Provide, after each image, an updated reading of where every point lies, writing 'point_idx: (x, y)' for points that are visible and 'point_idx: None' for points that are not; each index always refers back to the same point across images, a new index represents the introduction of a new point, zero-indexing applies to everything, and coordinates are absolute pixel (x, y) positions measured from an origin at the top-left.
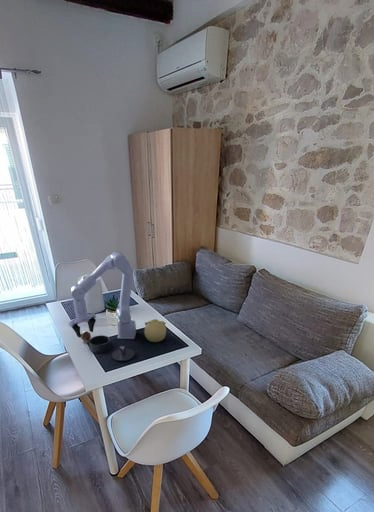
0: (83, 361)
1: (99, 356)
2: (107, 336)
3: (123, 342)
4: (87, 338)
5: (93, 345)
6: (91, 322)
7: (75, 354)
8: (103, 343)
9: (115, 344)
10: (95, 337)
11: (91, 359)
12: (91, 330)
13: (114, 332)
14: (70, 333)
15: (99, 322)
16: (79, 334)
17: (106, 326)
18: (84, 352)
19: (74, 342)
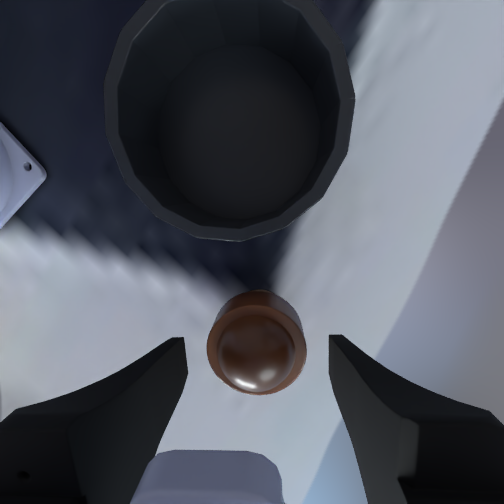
0: (490, 43)
1: (335, 9)
2: (105, 130)
3: (36, 71)
4: (269, 296)
5: (347, 67)
6: (107, 427)
7: (448, 209)
8: (181, 180)
9: None
10: (215, 226)
11: (419, 17)
12: (177, 354)
13: (18, 278)
14: None
15: None
16: (358, 350)
17: (25, 395)
18: (378, 181)
19: None
